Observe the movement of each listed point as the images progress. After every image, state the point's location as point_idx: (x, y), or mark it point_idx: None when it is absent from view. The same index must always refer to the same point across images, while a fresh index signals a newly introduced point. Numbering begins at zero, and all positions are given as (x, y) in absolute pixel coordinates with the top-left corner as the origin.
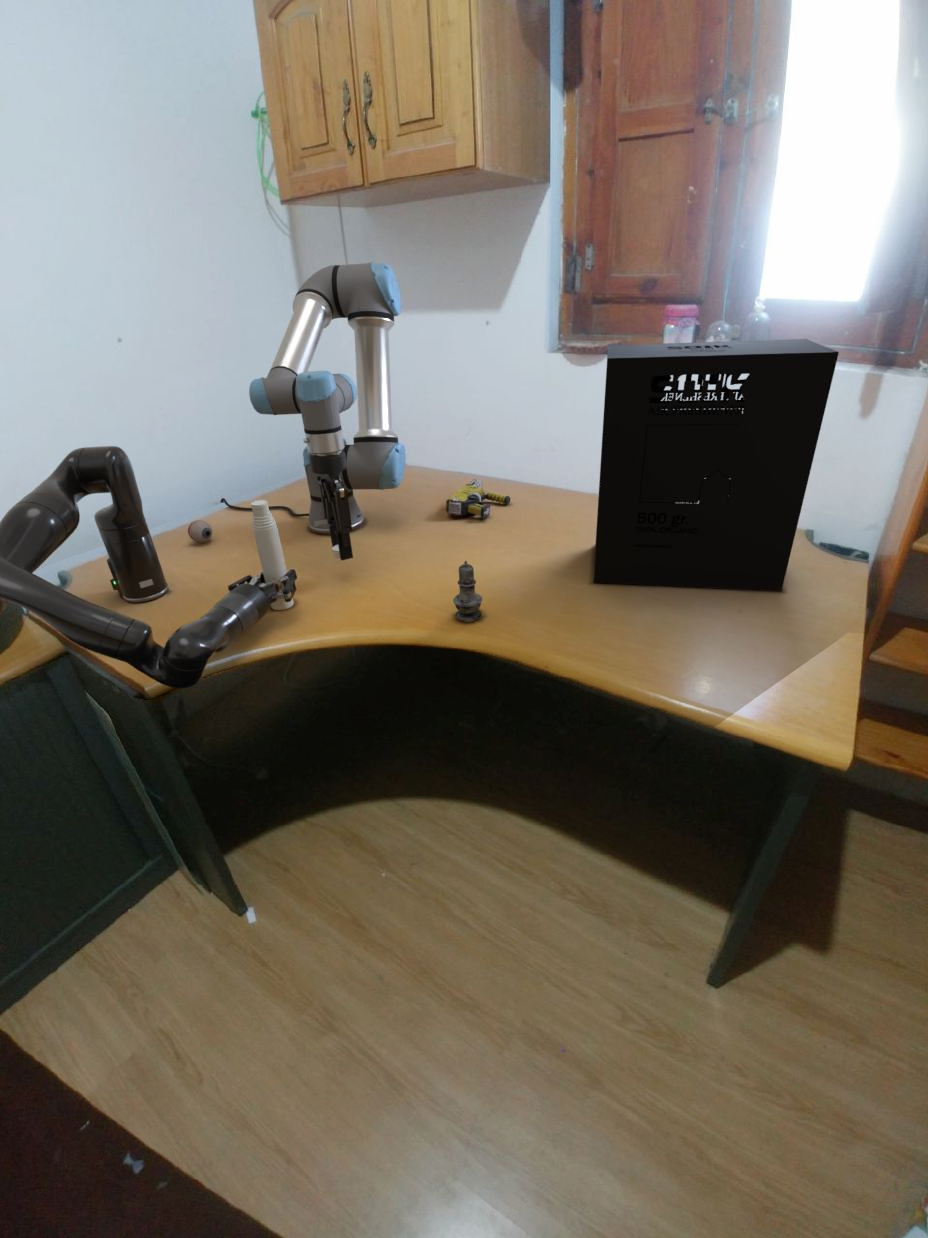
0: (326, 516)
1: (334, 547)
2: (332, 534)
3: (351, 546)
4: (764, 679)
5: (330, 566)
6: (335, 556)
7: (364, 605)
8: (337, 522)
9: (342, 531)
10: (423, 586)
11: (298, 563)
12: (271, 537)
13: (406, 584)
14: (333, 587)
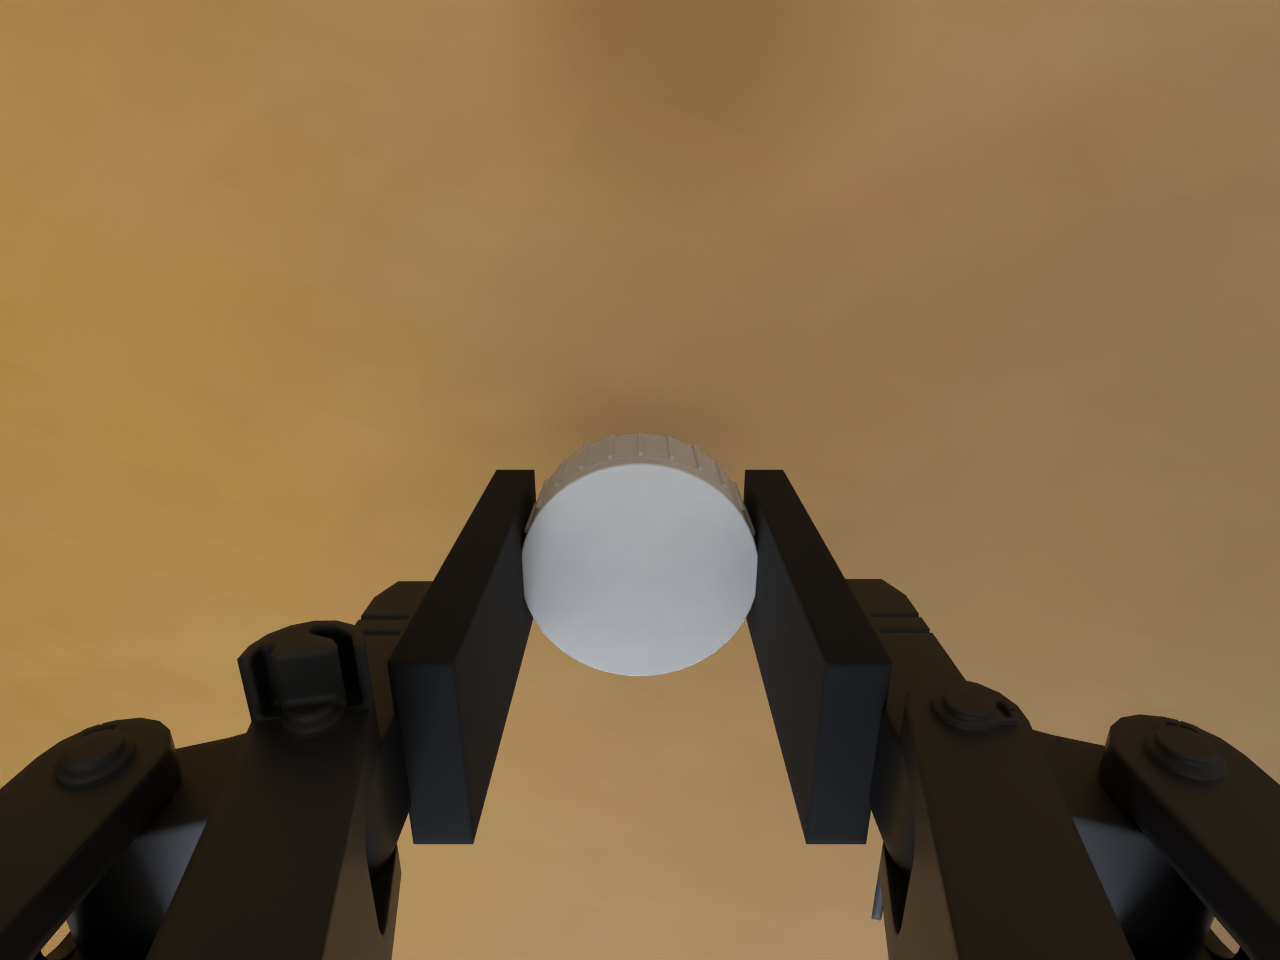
0: (1134, 789)
1: (684, 500)
2: (788, 596)
3: (599, 666)
4: None
5: (937, 407)
6: (597, 443)
7: (83, 390)
8: (188, 880)
9: (48, 764)
10: None
11: (1238, 168)
12: None
13: None
14: (516, 289)
